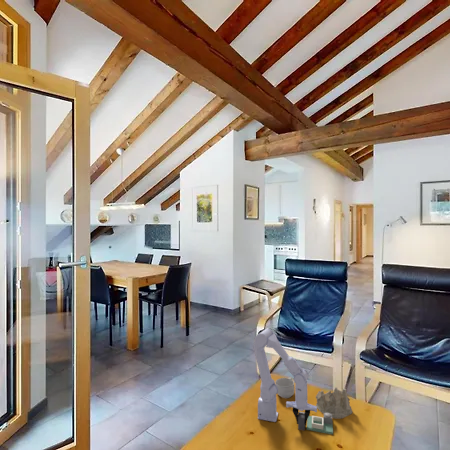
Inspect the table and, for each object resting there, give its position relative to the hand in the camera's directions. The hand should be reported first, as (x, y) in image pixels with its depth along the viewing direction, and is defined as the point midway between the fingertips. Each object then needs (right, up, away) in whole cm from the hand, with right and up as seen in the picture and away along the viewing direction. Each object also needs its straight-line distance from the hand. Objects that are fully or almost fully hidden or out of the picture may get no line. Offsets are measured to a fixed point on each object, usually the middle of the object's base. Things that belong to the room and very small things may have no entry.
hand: (301, 423), depth 153 cm
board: (+9, -2, +1) cm, 10 cm away
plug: (0, -2, 0) cm, 2 cm away
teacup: (-1, -2, +30) cm, 30 cm away
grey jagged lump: (+21, -2, +15) cm, 26 cm away
